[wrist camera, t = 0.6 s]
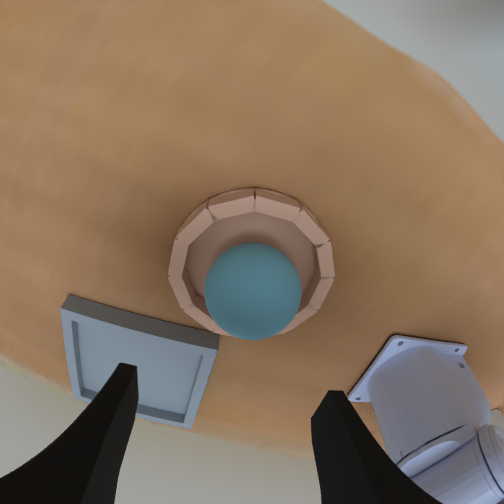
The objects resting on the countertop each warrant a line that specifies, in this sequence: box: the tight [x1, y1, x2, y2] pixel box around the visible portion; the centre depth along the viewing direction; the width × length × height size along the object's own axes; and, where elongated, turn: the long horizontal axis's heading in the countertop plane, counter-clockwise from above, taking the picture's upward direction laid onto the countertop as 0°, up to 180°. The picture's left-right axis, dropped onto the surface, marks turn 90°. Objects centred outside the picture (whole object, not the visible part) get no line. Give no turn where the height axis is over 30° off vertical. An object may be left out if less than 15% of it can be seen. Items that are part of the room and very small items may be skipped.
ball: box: [204, 243, 302, 340], centre depth 17 cm, size 5×5×5 cm
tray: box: [61, 294, 219, 429], centre depth 23 cm, size 11×11×2 cm
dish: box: [167, 188, 335, 338], centre depth 19 cm, size 9×9×2 cm
